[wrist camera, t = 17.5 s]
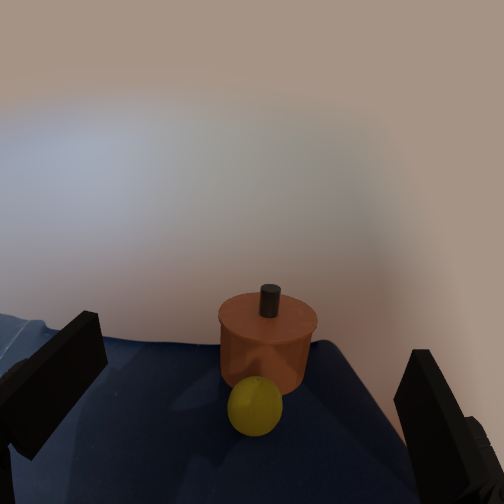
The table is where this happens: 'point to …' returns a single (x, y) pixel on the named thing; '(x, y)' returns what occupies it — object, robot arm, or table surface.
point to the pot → (263, 361)
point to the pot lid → (267, 317)
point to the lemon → (255, 406)
